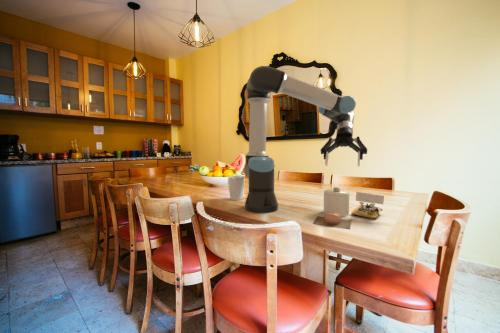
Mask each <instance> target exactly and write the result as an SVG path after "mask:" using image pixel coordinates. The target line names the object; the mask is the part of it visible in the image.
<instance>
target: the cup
mask: <svg viewBox="0 0 500 333" xmlns="http://www.w3.org/2000/svg"><path fill="white" fill-rule="evenodd" d="M227 184H228V191H229V192H228V193H229V197H230V200H231V201H240V200H243V199H244V198H243V197H244V190H245V184H246V182H245V176H242V175H231V176H228V178H227Z"/></svg>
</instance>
